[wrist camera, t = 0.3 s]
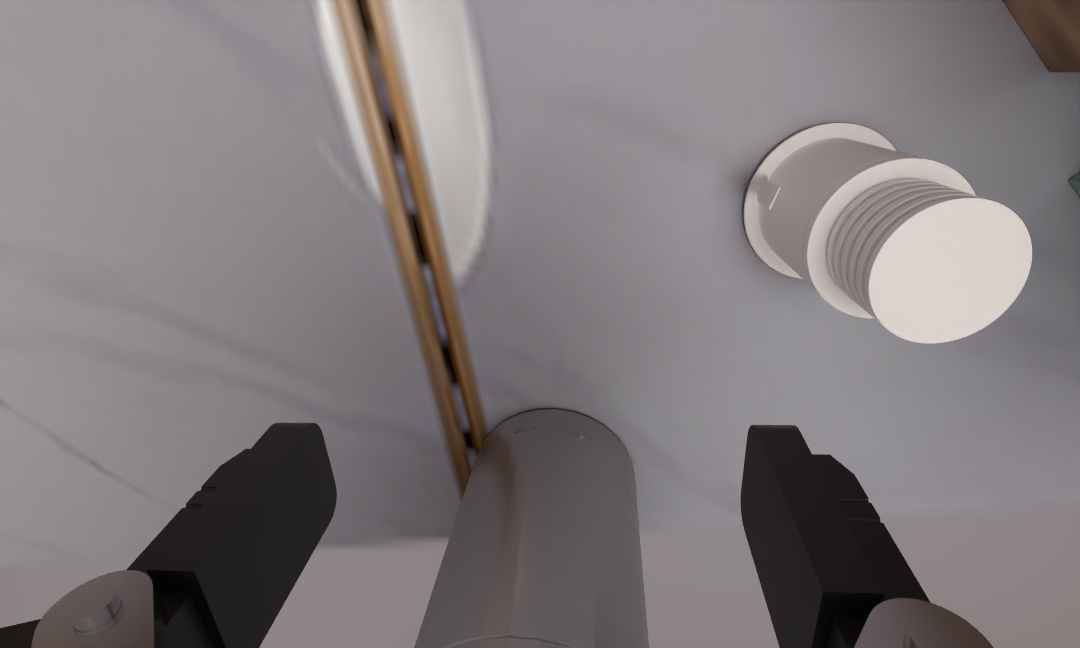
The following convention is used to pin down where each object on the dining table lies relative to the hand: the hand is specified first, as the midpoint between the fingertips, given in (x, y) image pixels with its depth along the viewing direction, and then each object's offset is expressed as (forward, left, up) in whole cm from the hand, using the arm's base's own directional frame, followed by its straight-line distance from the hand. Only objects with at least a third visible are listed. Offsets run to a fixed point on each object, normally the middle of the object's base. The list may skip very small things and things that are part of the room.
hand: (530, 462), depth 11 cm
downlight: (+1, -11, -19) cm, 22 cm away
